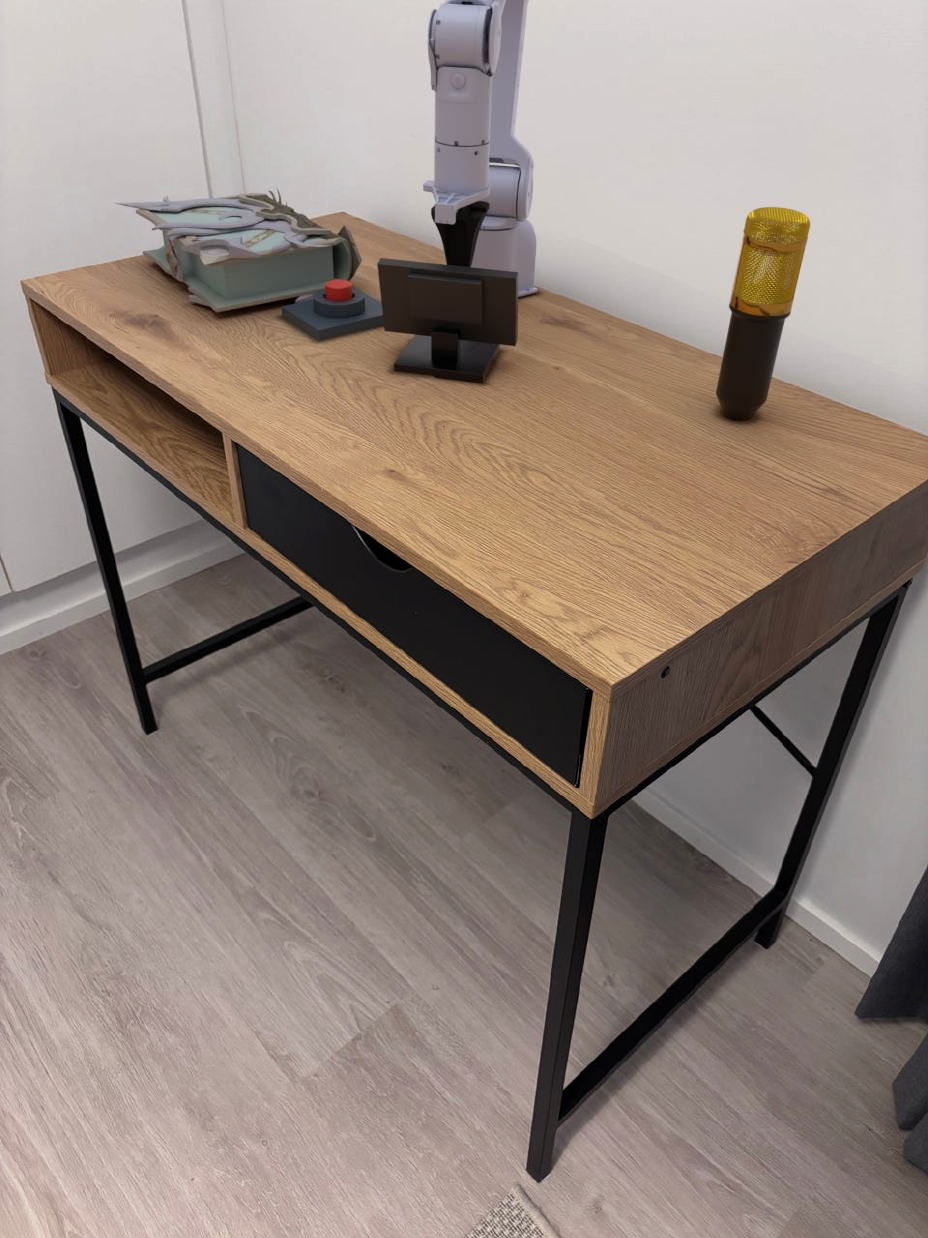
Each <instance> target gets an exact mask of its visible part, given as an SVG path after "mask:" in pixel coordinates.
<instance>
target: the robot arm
mask: <svg viewBox="0 0 928 1238" xmlns="http://www.w3.org/2000/svg"><path fill="white" fill-rule="evenodd" d="M528 5H529V0H444V3H440V5H439V7H438V9H436V8H433V9H432V10H431V13H430V16H429V21H428V28H427V55H428V62H429V68H430V87H431V90H432V91H434V145H433V146H434V147H433V149H434V155H433V156H434V157H433V158H434V161H433V163H434V166H433V167H434V169H433V175H434V176H433V179H432V180H431V179H429V180H425V182H424V183H423V184H422V191H424V192H426V193H432V196H433V199H434V201H435V203H434V205H433V206H432V207H431V209H430V215H431V219H432V221H433V223H434V224H435V227H436V229H437V231H438V233H439V236H440V239H441V243H442V247H443V251H444V258H445V263H446V265H454V266H464V267H473V268H483V269H492V270H502V271H512V272H518V298H519V297H520V298H521V297H525V296H529V295H532V294H536V293H538V288H537V287H535V286H534V285H535V272H536V270H535V269H536V258H537V257H536V256H537V236H536V231H535V228H534V227H533V225H532V223H531V222H530V220H528V218H529V217H530V213H531V209H532V202H533V193H534V166H535V164H534V159H533V156H532V153H531V151H530V150H529V149H528V147H527V148H526V147H525V145H523V143H521V142H520V141H519V139H518V138H517V137H516V136H515V131H516V121H517V111H518V103H519V102H518V101H519V92H520V81H521V80H520V79H521V73H522V64H523V63H522V62H523V55H524V53H523V52H524V43H525V33H526V24H527V16H528V15H527V13H528V7H529V6H528ZM500 164H502V165H500ZM512 165H513V166H512Z"/></svg>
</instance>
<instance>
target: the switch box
mask: <svg viewBox="0 0 928 1238" xmlns="http://www.w3.org/2000/svg"><path fill="white" fill-rule="evenodd" d="M281 317H282V318H283V319H285V320H286V321H288V322H290V323H291V324H293V325H294V326H296V327H297V328H299V330H302V331H304V332H305V333H306V334H308V335H309V336H311V337H313V338H314V339H316V340H317V341H319V342H320V341H323V340H324V341H325V340H329V339H332V338H337V337H339V336H340V337H341V336H345V335H349V334H353V333H357V332H361V331H366V330H369V329H374V328H377V327H381V326H384V321H383V312H382V303H381V301H380V300H378V299H376V298H374V297H373V296H371V295H369V294H367V293H366V292H364V291H363V290H360V289H358V288H353V287H352V299H351V300H347V301H330V300H327V299H326V296H325V289H321V290H319V291H317V292H315V293H314V294H313V300H309V301H304V302H300V303H291V304H286V305H282V306H281Z"/></svg>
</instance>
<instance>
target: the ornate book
mask: <svg viewBox="0 0 928 1238" xmlns="http://www.w3.org/2000/svg"><path fill="white" fill-rule="evenodd" d="M276 190H277V194H278V201H277V198H276V196H275V194H274V192H273V191H272V190H269V189H268V193H269V194H270V195H271V197H269V195H268V194H267V193H265V192H249V193H238V194H236V195H229V196H219V197H215V198H196V199H195V198H194V199H185V200H174V201H173V200H169V196H168V195H166V196H164V197H163V198H162V199H163V200H162V201H142V202H141V201H139V202H114V204H115V205H118V206H124V207H128V208H133V209H135V213H136V214H137V215H138V216H140V217H142V218H144V219H145V220H147V221H149V222H150V223H152V224H153V226H154V227H152V228H151V231H156V230H159V231H162V239H163V245H162V246H161V247H159V248H157V249H150V250H144V251H142V255H143V256H144V257H146V258H147V259H149V260H151V261H152V262H153V263H155V264H156V265H158V266H159V267H160V268H161V269H162V270H163V271H164V272H165V273H166V274H167V275H169V276H172V277H173V278H174V279H175V280H177V281H178V282H181V283H184V284H186V285H187V286H188V287H187V290H188V291H189V292H190V293H192V294H190V295H188V302H190V303H191V302H192V303H196V304H199V305H203V306H206V307H208V308H209V307H210V308H211V309H212V310H213V311H214V312H215V313H221V312H226V311H232V310H236V309H241V308H246V307H253V306H258V305H262V304H267V303H273V302H277V301H283V300H288V299H293V298H296V299H295V303H300V302H304V301H309V300H313V294H314V293H315V292H317V291H319V290H321V289H325V283H326V282H327V281H330V280H335V279H342V280H347V281H350V282H351V280H352V279H353V278H354V277H355V274H356V272H357V271H358V268H359V267H360V265H361V264H362V262H363V258H362V256H361V254H360V252H359V249H358V247H357V244H356V242H355V239H354V237H353V234H352V232H351V231H350V230H349V228H347V226H346V225H343V226H342V227H341V229H340V230H339V231H338V233H335V232H333V231H332V230H331V229H330V228H326V227H323V226H321V225H320V224H317V223H316V222H314V221H312V220H311V219H309V218H308V217H307V215H305V214H304V213H299V212H296V211H295V209H294V208H293V207H290V206H288V201H287V200H286V201H285V204H283V203H282V196H281V193H280V191H279V189H278V188H276ZM295 303H294V304H295Z"/></svg>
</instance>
